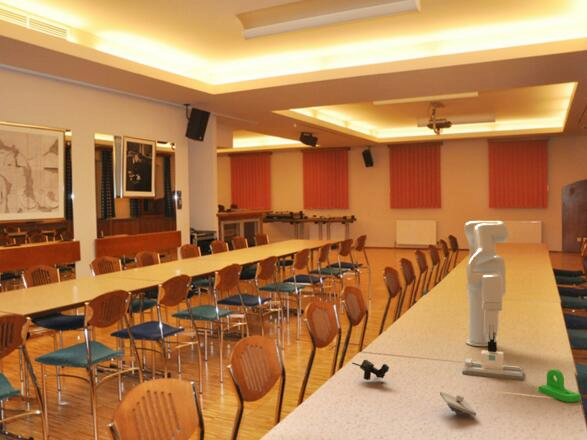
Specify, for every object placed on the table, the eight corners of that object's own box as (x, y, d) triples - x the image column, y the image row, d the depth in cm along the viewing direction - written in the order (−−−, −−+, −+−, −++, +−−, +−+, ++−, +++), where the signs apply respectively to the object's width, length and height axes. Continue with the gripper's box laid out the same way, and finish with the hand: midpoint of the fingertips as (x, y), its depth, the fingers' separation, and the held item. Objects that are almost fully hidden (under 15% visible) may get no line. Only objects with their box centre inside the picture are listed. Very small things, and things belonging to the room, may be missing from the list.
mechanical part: (538, 391, 187) (538, 369, 186) (550, 389, 189) (550, 367, 189) (568, 403, 176) (568, 379, 175) (580, 400, 178) (580, 377, 178)
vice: (390, 390, 203) (371, 374, 212) (401, 371, 203) (381, 355, 211) (362, 385, 192) (343, 368, 200) (374, 364, 191) (354, 348, 200)
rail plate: (464, 366, 217) (464, 356, 217) (522, 372, 208) (522, 362, 208) (462, 373, 208) (462, 363, 207) (522, 380, 199) (522, 369, 199)
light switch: (466, 404, 175) (466, 389, 174) (477, 417, 165) (477, 401, 165) (438, 405, 175) (438, 389, 174) (447, 417, 165) (448, 401, 165)
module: (482, 367, 212) (482, 350, 212) (503, 369, 209) (503, 351, 208) (481, 370, 207) (481, 353, 207) (502, 373, 204) (502, 355, 204)
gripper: (483, 302, 215) (483, 346, 216) (480, 308, 202) (481, 355, 202) (502, 303, 212) (503, 347, 213) (501, 309, 199) (501, 357, 199)
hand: (492, 351), depth 207 cm, fingers closed
